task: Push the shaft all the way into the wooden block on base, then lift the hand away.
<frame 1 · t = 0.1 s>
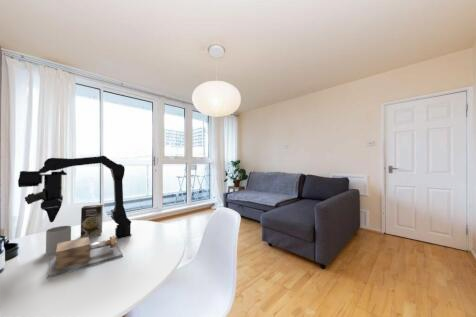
hand: (52, 219, 86), 15 cm above the table, fingers open, 9 cm apart
coffee box: (91, 235, 106), on the table
wooden block on base: (73, 262, 77), on the table
cup: (58, 250, 87), on the table
shaft: (95, 245, 82), point 4 cm above the table, slide at 7.0 cm
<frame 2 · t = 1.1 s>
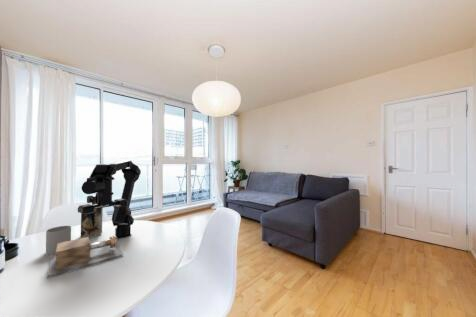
hand: (104, 223, 89), 12 cm above the table, fingers open, 9 cm apart
nothing on the table moved.
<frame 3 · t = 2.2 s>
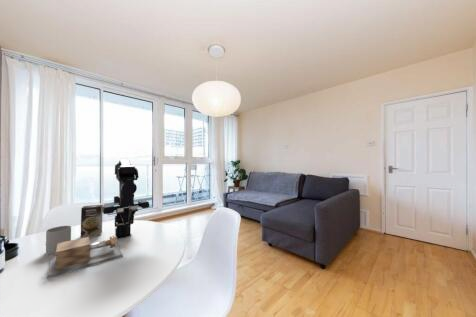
hand: (126, 224, 90), 11 cm above the table, fingers closed
nothing on the table moved.
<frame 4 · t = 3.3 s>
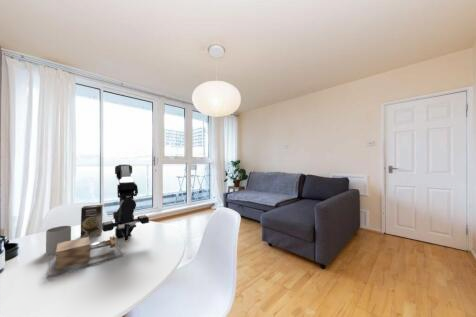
hand: (126, 240, 90), 4 cm above the table, fingers closed
nothing on the table moved.
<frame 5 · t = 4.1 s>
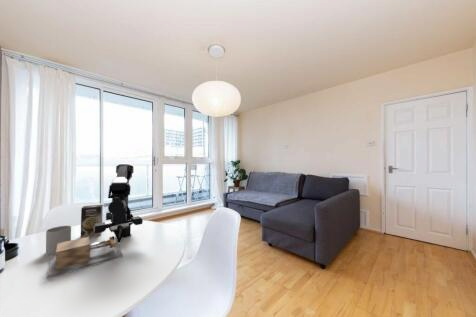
hand: (119, 242, 88), 4 cm above the table, fingers closed
shaft: (95, 246, 82), point 5 cm above the table, slide at 6.9 cm, touching gripper
everything else where it was.
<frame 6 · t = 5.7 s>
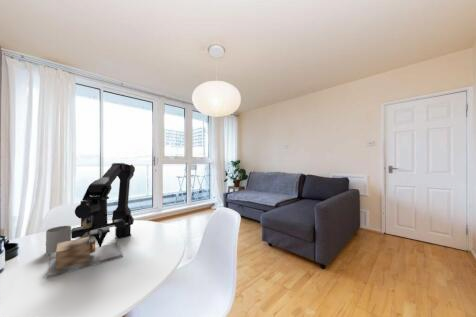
hand: (100, 247, 83), 4 cm above the table, fingers closed
shaft: (74, 251, 77), point 4 cm above the table, slide at -0.1 cm, touching gripper
everything else where it was.
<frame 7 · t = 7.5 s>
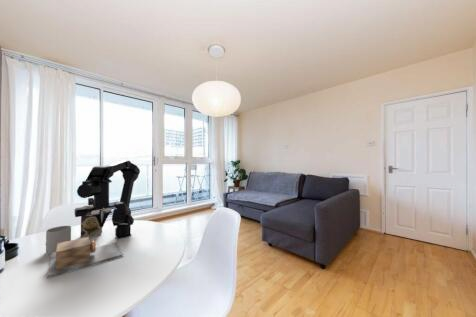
hand: (101, 227, 87), 11 cm above the table, fingers closed
shaft: (74, 250, 77), point 4 cm above the table, slide at 0.0 cm
everything else where it was.
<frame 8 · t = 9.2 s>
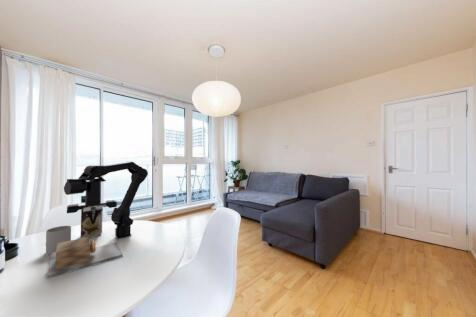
hand: (92, 224, 91), 11 cm above the table, fingers closed
nothing on the table moved.
at the end: shaft slide at 0.0 cm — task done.
